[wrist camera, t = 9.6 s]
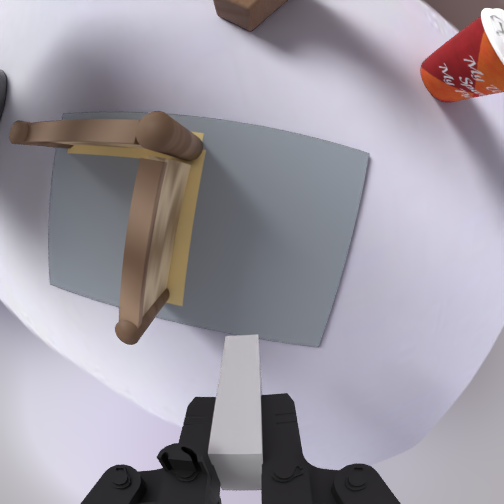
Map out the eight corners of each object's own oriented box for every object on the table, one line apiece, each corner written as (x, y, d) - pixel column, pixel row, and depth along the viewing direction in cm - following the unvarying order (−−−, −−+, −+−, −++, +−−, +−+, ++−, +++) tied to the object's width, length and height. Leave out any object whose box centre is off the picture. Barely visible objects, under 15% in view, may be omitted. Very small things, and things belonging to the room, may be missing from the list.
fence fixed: (61, 150, 23) (3, 146, 14) (65, 129, 22) (8, 118, 14) (200, 162, 23) (168, 151, 15) (205, 136, 23) (177, 112, 14)
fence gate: (174, 161, 23) (137, 153, 15) (195, 165, 23) (166, 158, 15) (149, 299, 26) (114, 339, 18) (168, 304, 26) (138, 348, 19)
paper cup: (414, 99, 22) (505, 61, 8) (409, 42, 20) (479, -13, 6) (466, 120, 22) (554, 105, 8) (460, 65, 20) (534, 34, 6)
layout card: (52, 283, 27) (49, 284, 27) (65, 114, 22) (62, 113, 22) (317, 344, 28) (318, 347, 27) (367, 153, 23) (369, 153, 23)
